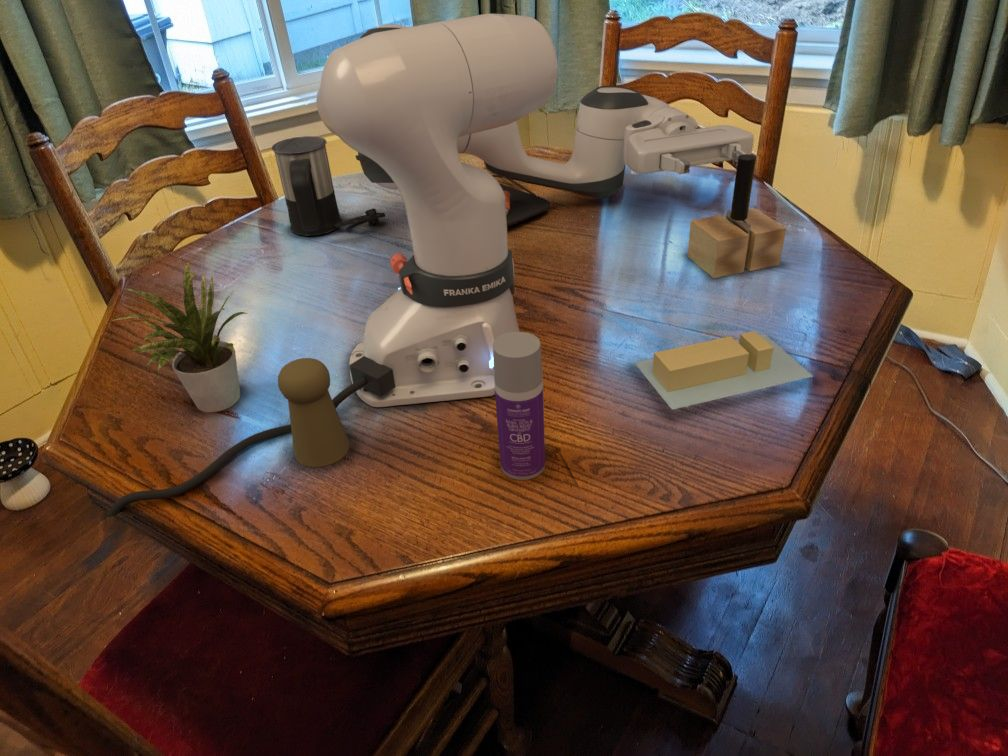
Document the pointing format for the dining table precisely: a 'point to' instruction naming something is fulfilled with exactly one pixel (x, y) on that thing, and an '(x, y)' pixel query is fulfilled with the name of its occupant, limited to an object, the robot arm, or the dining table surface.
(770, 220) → the knife block
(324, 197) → the milk frother
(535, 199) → the sushi plate
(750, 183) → the knife
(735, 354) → the butter stick
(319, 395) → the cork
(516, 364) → the container
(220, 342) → the house plant
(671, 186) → the dining table surface
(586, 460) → the dining table surface
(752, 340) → the butter pat
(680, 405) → the butter dish
